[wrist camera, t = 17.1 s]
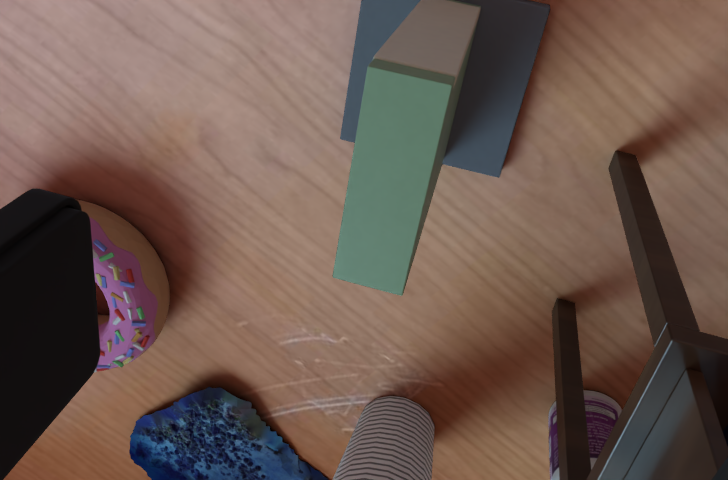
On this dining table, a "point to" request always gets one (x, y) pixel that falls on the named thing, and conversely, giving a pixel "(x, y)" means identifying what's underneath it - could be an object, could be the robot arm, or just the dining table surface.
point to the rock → (213, 442)
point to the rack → (647, 367)
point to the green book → (402, 142)
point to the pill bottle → (599, 426)
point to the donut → (126, 287)
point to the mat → (481, 80)
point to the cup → (390, 443)
